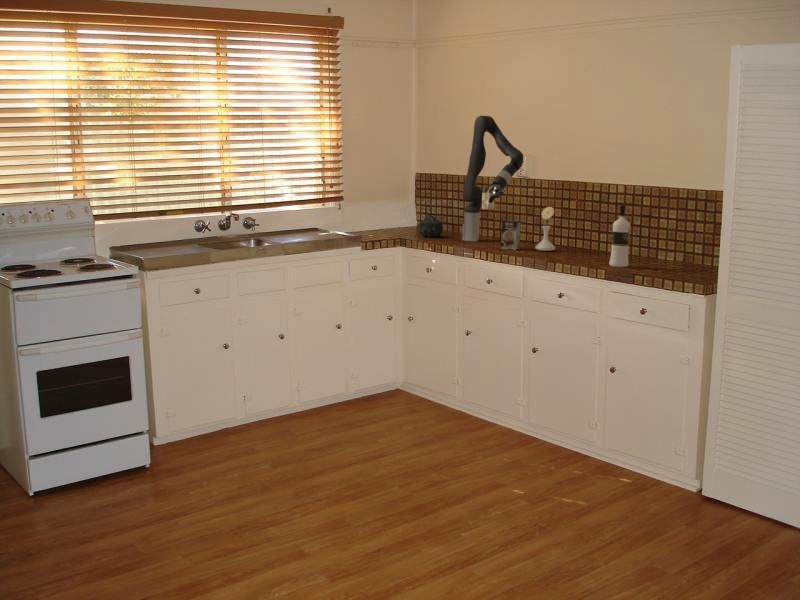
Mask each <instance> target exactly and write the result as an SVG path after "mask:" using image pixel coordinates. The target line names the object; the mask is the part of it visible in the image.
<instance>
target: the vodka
mask: <svg viewBox="0 0 800 600" xmlns="http://www.w3.org/2000/svg"><path fill="white" fill-rule="evenodd" d="M630 228H631V223H630V222H629V220H627V219H626V205H624V204H620V205H619V217H618V219H616V220H615V221H613V223H612V239H611V253H610V259H609V262H608V264H609V266H610V267H614V268H627V267H628V266H629V248H630V246H629V245H630V232H631V229H630Z"/></svg>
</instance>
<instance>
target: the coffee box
mask: <svg viewBox="0 0 800 600" xmlns="http://www.w3.org/2000/svg"><path fill="white" fill-rule="evenodd" d="M521 223H522V222H521V220H509V219H508V220H507V219H505V220H502V221H501V236H500V238H501V239H500V250H507V249H513V250H512V251H517V250H516V249H519V250H520V238H521V237H520V236H521Z"/></svg>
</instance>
